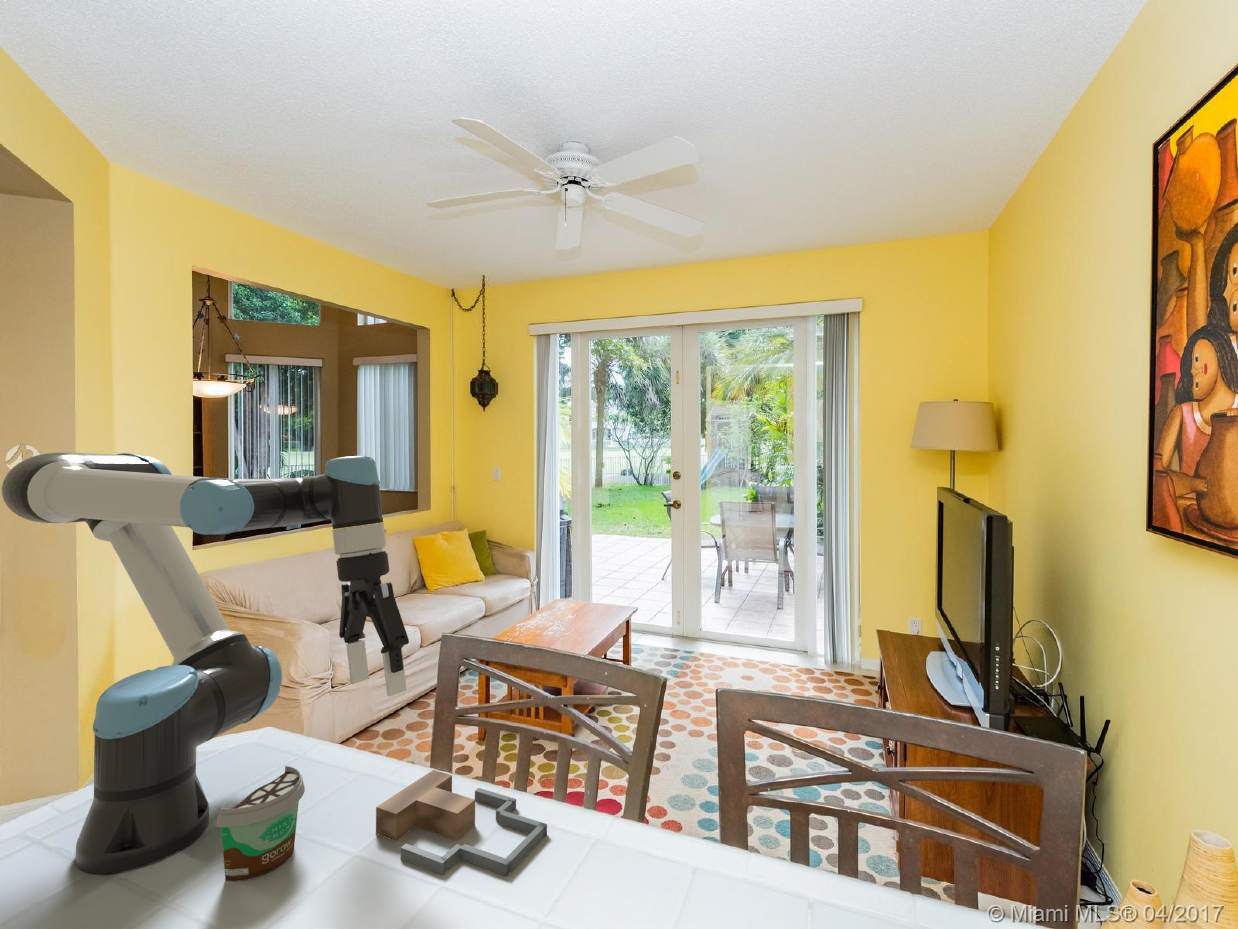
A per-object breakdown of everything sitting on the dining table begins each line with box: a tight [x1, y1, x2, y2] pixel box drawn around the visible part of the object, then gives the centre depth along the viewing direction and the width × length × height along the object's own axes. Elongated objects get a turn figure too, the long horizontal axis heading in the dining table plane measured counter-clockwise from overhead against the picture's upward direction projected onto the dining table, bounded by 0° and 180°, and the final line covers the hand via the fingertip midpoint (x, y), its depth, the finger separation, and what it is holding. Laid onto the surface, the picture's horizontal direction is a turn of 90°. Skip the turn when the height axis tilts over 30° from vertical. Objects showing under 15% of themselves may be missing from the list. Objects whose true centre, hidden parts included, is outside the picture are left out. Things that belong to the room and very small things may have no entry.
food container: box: [216, 765, 306, 882], centre depth 81 cm, size 12×6×10 cm, turn 168°
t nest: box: [400, 787, 548, 877], centre depth 86 cm, size 16×17×2 cm
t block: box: [375, 769, 476, 842], centre depth 90 cm, size 12×12×4 cm
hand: (377, 687), depth 92 cm, fingers open, 13 cm apart
